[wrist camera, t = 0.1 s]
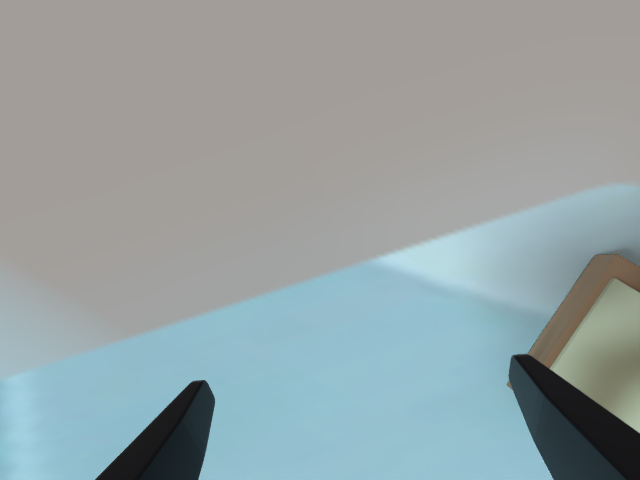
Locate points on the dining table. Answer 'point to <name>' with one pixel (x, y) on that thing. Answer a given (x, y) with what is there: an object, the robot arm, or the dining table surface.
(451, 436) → the dining table surface
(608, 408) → the board
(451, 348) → the dining table surface
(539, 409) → the robot arm
